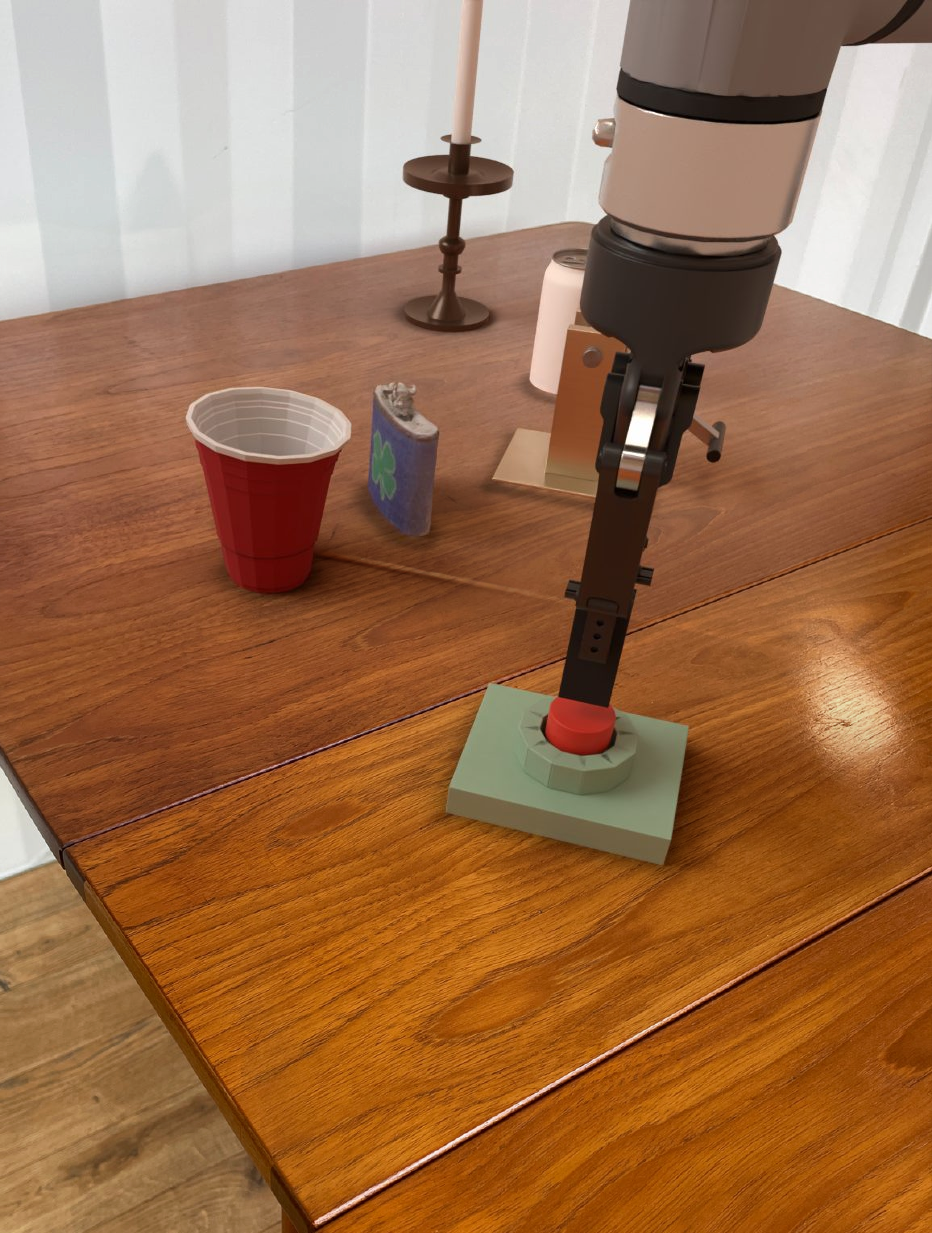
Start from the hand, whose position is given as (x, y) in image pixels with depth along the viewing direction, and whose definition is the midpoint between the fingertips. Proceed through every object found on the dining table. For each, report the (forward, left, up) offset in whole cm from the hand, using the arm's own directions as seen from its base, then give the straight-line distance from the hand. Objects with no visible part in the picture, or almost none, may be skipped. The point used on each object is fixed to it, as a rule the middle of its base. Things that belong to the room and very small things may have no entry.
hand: (585, 694), depth 60 cm
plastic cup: (+24, -15, -7) cm, 29 cm away
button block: (0, 0, -7) cm, 7 cm away
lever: (+2, -38, +1) cm, 38 cm away
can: (+10, -55, -7) cm, 56 cm away
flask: (+18, -26, -7) cm, 32 cm away
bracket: (+6, -38, -7) cm, 39 cm away
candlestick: (+25, -69, -7) cm, 74 cm away
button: (0, 0, -3) cm, 3 cm away
